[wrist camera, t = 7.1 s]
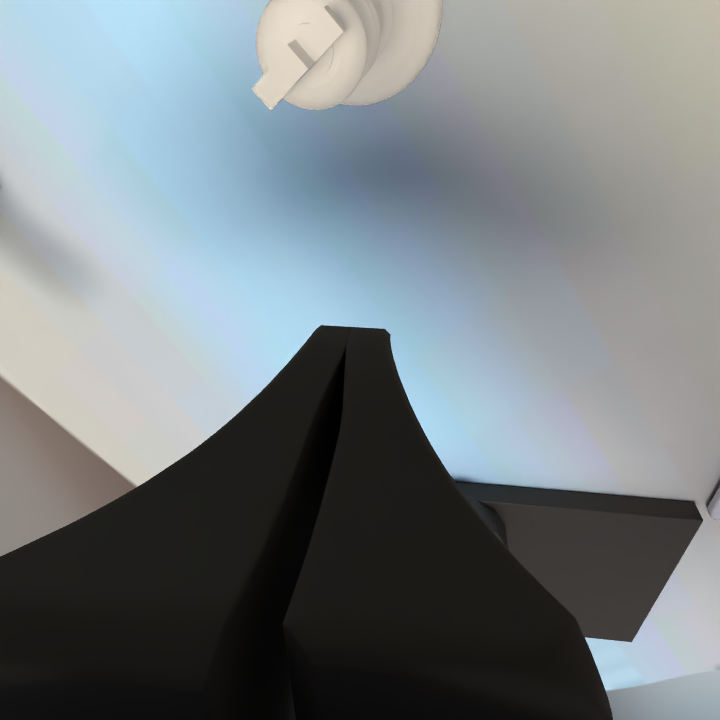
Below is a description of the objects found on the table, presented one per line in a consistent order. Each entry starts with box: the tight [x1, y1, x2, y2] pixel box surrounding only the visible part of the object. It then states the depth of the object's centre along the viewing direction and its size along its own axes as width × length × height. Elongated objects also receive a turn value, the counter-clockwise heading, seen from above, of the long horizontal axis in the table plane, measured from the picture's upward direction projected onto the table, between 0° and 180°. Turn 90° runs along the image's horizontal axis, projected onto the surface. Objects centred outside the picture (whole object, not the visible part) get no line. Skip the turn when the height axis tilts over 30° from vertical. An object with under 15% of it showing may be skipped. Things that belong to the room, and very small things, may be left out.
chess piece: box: [252, 0, 442, 110], centre depth 12 cm, size 5×5×10 cm
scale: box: [455, 482, 703, 642], centre depth 29 cm, size 14×11×2 cm
